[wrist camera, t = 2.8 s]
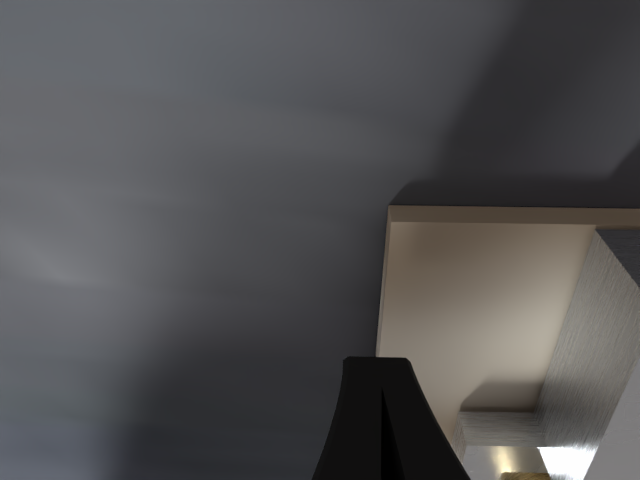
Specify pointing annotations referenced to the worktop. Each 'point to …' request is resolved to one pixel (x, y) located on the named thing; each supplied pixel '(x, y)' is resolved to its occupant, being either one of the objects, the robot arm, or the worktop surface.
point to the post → (524, 476)
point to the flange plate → (576, 384)
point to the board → (482, 298)
